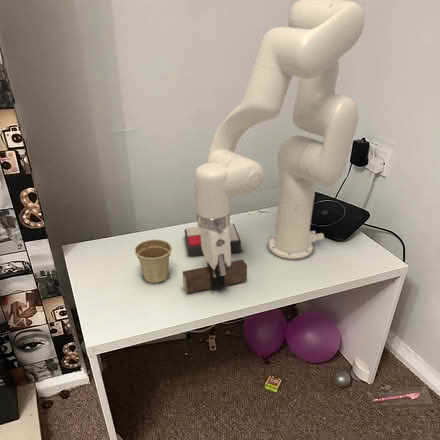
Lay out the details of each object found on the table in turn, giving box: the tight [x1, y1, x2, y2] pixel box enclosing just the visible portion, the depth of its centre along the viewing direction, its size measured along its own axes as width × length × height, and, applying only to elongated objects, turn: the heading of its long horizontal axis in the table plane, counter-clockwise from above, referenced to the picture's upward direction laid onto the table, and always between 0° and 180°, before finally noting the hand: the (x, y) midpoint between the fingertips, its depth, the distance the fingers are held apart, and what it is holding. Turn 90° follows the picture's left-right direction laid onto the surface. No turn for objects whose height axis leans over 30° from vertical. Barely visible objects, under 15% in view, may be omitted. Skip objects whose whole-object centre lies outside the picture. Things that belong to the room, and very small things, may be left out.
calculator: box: [184, 222, 242, 257], centre depth 127 cm, size 11×4×15 cm
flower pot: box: [133, 239, 173, 284], centre depth 113 cm, size 9×9×9 cm
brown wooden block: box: [181, 259, 248, 294], centre depth 110 cm, size 16×3×5 cm, turn 108°
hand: (215, 282), depth 111 cm, fingers closed on brown wooden block, 3 cm apart
